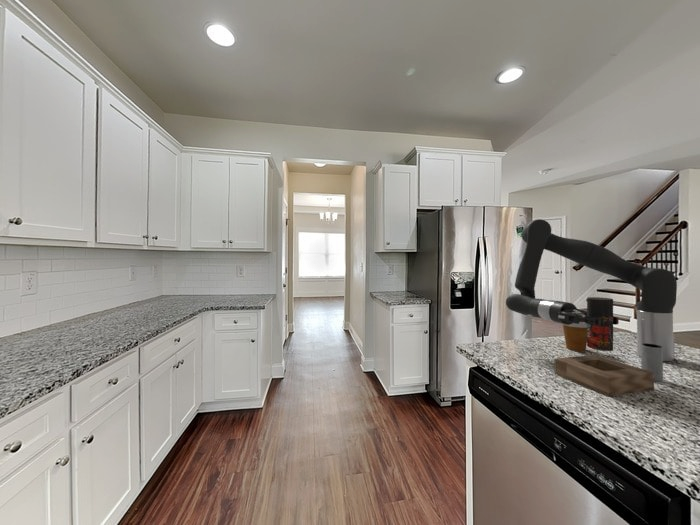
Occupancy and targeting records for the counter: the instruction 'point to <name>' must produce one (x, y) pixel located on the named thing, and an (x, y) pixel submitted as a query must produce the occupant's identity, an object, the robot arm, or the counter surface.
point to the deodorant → (601, 334)
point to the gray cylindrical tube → (652, 360)
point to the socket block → (605, 375)
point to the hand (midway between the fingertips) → (608, 321)
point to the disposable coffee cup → (576, 336)
